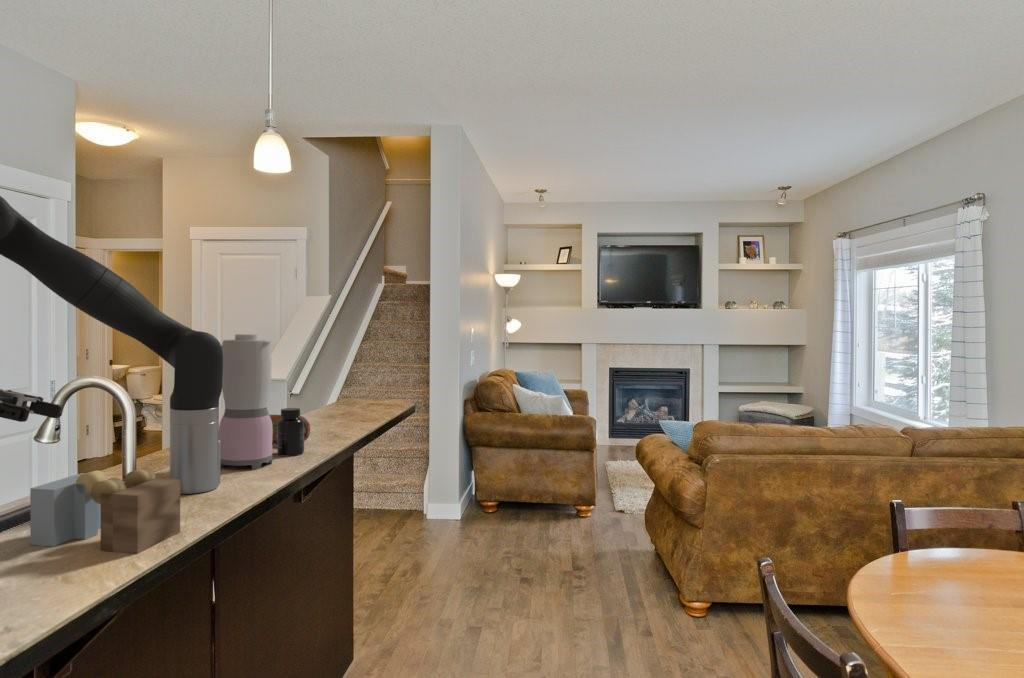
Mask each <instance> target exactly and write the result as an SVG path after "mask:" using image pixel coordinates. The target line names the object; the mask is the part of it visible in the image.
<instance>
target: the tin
mask: <svg viewBox="0 0 1024 678" xmlns="http://www.w3.org/2000/svg"><path fill="white" fill-rule="evenodd" d="M269 416H270V418H271V420H272V428H273V434H272V443H277V422H278V421H279V420H280V419H282V417H281V414H269ZM299 418H301V419H302V420H303V421H304V442H305V441H307V440H308V438H309V436H310V433H311V424H310V422H309V421H308V420H307V418H306V417H304V416H302V415H300V416H299Z"/></svg>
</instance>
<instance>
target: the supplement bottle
mask: <svg viewBox="0 0 1024 678" xmlns="http://www.w3.org/2000/svg"><path fill="white" fill-rule="evenodd" d="M280 415H281V417H282V419H280V420H279V421H278V422H277V444H276V451H277V452H276V453H277V455H278V454H279V456H281V455H295V456H299V455H298V454H300V455H303V454H304V453H305V441H304V421H303V420H302V419H301V418H299V416H301V408H298V407H285V408H282V409H280Z"/></svg>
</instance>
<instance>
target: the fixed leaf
mask: <svg viewBox="0 0 1024 678" xmlns="http://www.w3.org/2000/svg"><path fill="white" fill-rule="evenodd" d="M156 476H157V475H156V474H155V471H154V470H153V469H152V468H150V467H148V466H147V467H141V468H139V469H135V470H132V471H129V472H128V473H127V474H126V475H125V477H124V480H122V479H120V478H119V477H111V478H107V480H104V481H101V482H98V483H96V484H94V485H93V486H92V488H91V497H92V499H93V500H94V501H95V502H96V503H98V504H101V527H100V551H101V552H116V553H124V554H125V553H128V554H139V553H141V552H143V551H145V550H148V549H149V548H151V547H153V546H156V545H157V544H159V543H161V542H163V541H165V540H168V539H169V538H171V537H173V536H175V535H177V534H179V533H180V532H181V494H180V479H170V478H167V477H166V478H163V477H156Z"/></svg>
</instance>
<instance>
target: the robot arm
mask: <svg viewBox="0 0 1024 678" xmlns="http://www.w3.org/2000/svg"><path fill="white" fill-rule="evenodd" d="M0 256H2V257H4V258H5V259H8V260H9V261H11V262H13V263H15V264H17V265H18V266H20V267H22V268H23V269H24V270H25V271H26V272H28V273H29V274H31V276H33V277H34V278H35V279H37V280H38V281H39V282H40V283H42V284H43V285H44V286H45V287H46V288H48V289H49V290H50V291H52V292H53V293H54V294H56V295H57V296H58V297H59V298H61V299H63V300H64V301H66V302H68V303H69V304H70V305H72V306H74V307H75V308H76V309H78V310H80V311H81V312H83V313H84V314H86V315H87V316H90V317H91V318H93V319H95V320H97V321H99V322H101V324H102V323H103V324H104V325H105V326H107V327H109V328H112V329H113V330H116V331H118V332H120V333H121V334H124V335H126V336H128V337H130V338H132V339H134V340H136V341H138V342H140V343H141V344H142V345H144V346H146V347H147V349H149V350H151V351H152V352H154V353H155V354H156V355H158V356H159V357H160V358H162V359H163V360H164V361H165V362H167V364H169V365H170V366H171V367H172V368H174V375H173V377H174V379H173V389H172V393H171V394H170V397H169V479H180V495H188V494H189V495H191V494H199V493H200V494H201V493H205V492H210V491H213V490H216V489H217V488H219V485H220V484H221V467H220V457H221V442H220V440H219V425H220V418H219V417H220V398H221V395H222V393H223V390H222V380H223V351H222V347H221V346H222V344H221V343H220V340H218V338H217V337H215V336H214V335H213V334H211V333H209V332H204V331H199V330H194V329H192V328H190V327H188V326H186V325H184V324H182V323H180V322H178V321H177V320H175V319H173V318H171V317H170V316H168V315H167V314H165V313H164V312H162V311H161V310H159V309H158V308H157V307H156V306H155V305H154V304H153V303H152V302H151V301H150V300H149V299H148V298H147V297H146V296H145V295H144V294H143V293H141V292H140V291H139V289H137V288H136V287H135V286H133V285H132V284H131V283H130V282H128V281H127V280H126V279H125V278H123V277H121V276H120V275H118V274H117V273H116V272H114V271H112V270H111V269H110V268H108V267H106V266H105V265H103V264H102V263H100V262H99V261H96V260H95V259H93V258H92V257H90V256H88V255H86V254H85V253H83V252H81V251H79V250H77V249H75V248H73V247H71V246H69V245H67V244H64V243H63V242H60V241H59V240H57V239H55V238H54V237H52V236H50V235H48V234H47V233H45V232H44V231H43V230H41V229H40V228H39V227H37V226H36V225H34V224H33V222H31V221H30V220H28V219H27V218H26V217H24V216H23V215H22V214H21V213H19V212H18V210H16V209H15V208H13V207H12V205H10V204H9V202H8V201H7V200H6V199H5V198H4V197H2V196H1V195H0ZM44 399H45V398H44V397H42V396H36V395H31V394H27V393H23V392H17V391H13V390H11V389H10V390H9V389H8V390H6V389H5V390H4V389H2V388H0V418H2V419H7V420H11V421H15V422H20V423H23V422H24V423H25V422H27V421H28V418H29V416H30V414H32V415H37V416H38V415H39V416H44V417H47V418H51V419H56V418H57V419H58V418H60V416H61V414H62V410H63V407H62V405H60V404H57V403H52V402H47V401H44ZM28 402H30V406H29V405H28Z"/></svg>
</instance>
